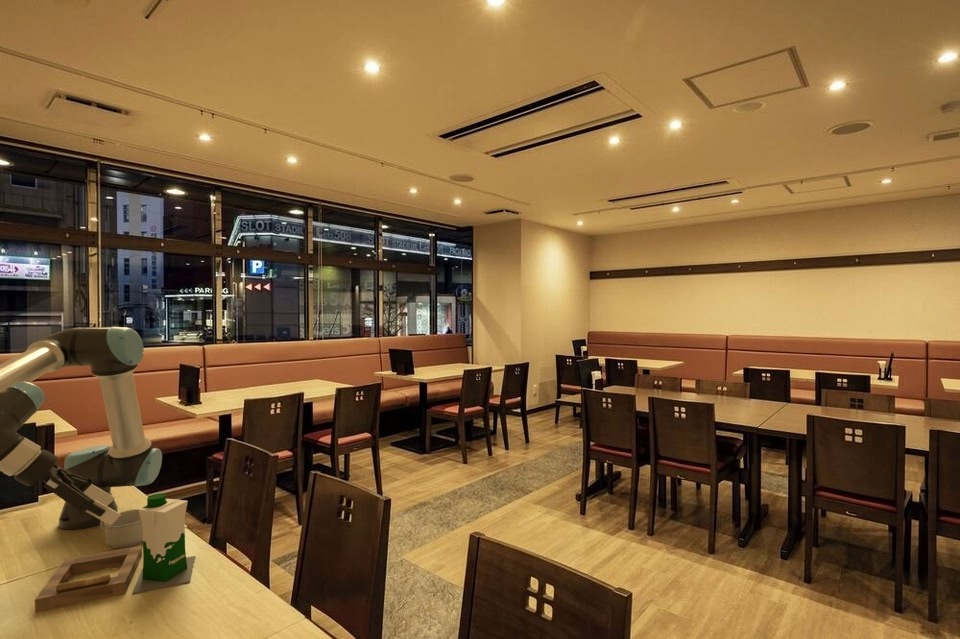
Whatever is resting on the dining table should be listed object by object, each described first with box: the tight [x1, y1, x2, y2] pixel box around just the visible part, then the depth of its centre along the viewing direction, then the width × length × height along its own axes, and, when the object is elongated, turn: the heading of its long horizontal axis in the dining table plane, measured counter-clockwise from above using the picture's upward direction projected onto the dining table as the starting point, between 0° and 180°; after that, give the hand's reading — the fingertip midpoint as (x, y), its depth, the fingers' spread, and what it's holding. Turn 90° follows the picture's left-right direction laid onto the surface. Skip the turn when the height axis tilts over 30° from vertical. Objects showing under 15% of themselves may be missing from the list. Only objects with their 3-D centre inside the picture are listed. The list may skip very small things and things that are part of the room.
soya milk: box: [138, 493, 189, 582], centre depth 128 cm, size 9×9×20 cm
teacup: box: [99, 508, 143, 549], centre depth 146 cm, size 14×11×8 cm
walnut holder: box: [34, 545, 143, 613], centre depth 125 cm, size 20×17×5 cm
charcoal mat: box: [131, 555, 196, 595], centre depth 128 cm, size 14×12×1 cm
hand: (113, 510), depth 121 cm, fingers open, 13 cm apart
